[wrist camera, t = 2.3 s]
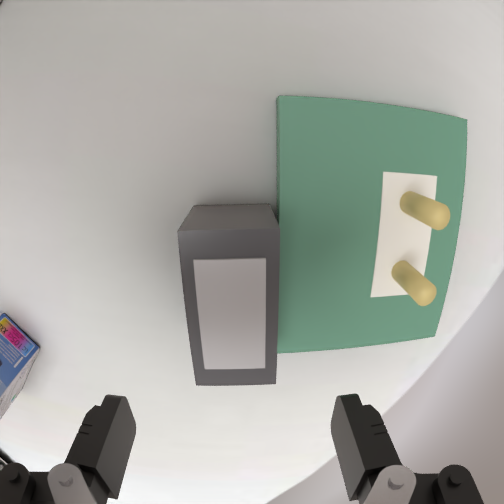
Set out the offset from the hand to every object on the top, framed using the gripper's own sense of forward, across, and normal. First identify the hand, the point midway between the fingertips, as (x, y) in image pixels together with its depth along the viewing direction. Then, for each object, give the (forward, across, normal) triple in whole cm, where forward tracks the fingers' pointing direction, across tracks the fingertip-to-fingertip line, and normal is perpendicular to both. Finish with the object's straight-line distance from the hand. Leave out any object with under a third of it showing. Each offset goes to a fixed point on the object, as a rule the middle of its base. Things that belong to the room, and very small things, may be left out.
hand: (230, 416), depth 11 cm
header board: (+13, -10, -3) cm, 17 cm away
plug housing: (+13, 0, 0) cm, 13 cm away
